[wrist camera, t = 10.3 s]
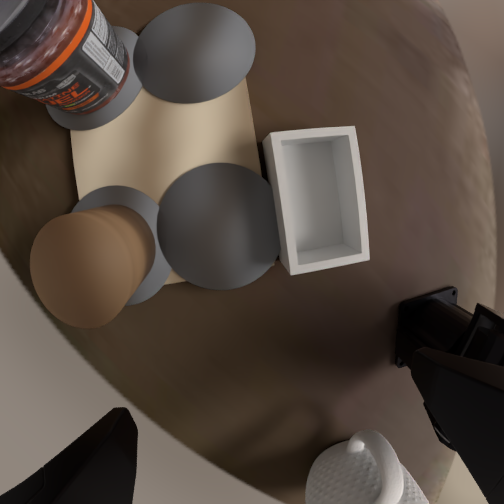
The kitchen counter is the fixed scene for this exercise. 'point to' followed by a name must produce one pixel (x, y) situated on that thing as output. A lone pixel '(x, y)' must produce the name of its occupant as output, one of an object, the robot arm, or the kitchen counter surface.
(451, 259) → the kitchen counter surface
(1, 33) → the supplement bottle
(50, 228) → the board
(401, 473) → the mug
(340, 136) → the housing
